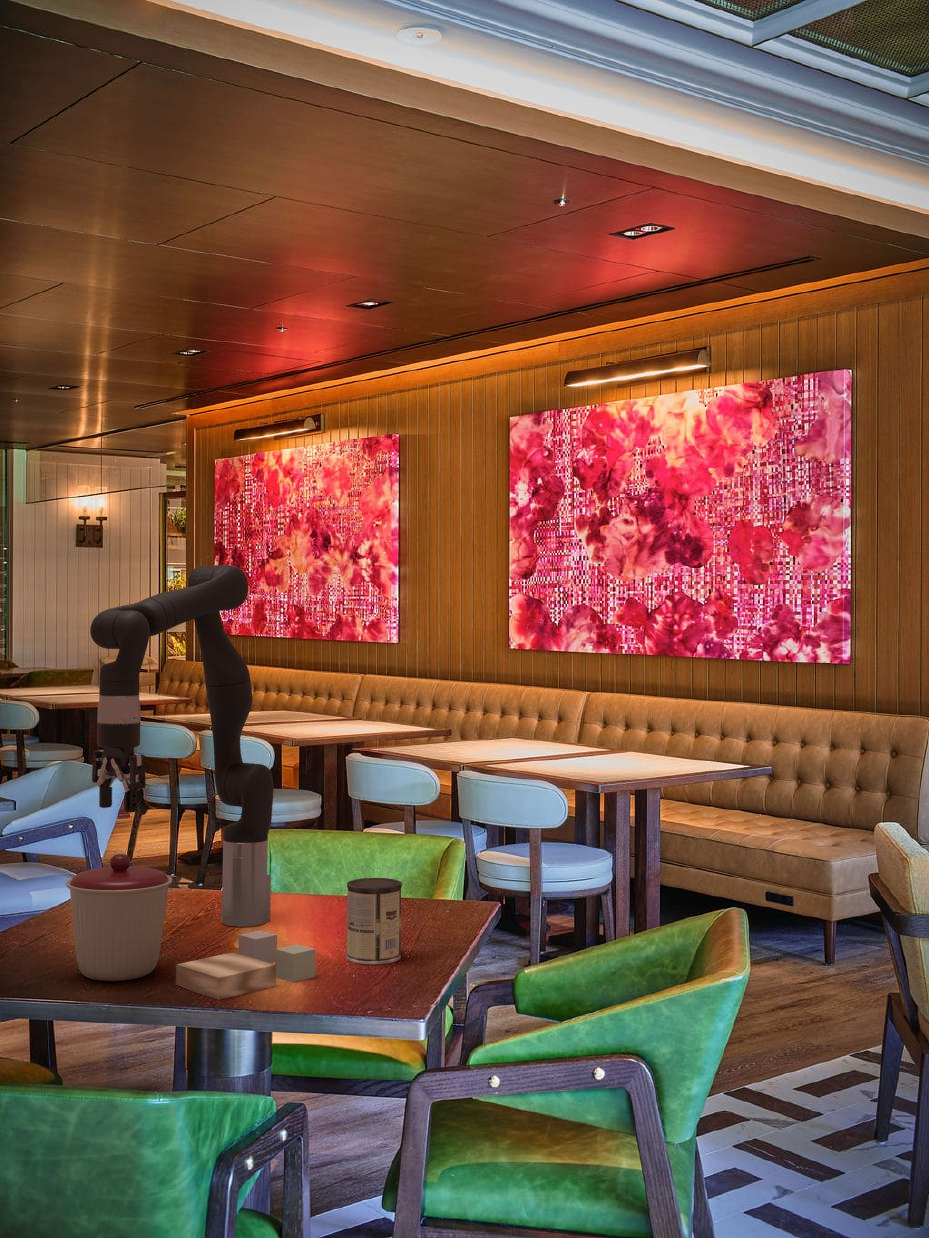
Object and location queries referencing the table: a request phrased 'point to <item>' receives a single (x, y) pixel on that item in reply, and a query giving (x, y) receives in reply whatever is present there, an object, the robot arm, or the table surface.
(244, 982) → the birch block
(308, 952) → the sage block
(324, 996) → the table surface
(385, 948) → the coffee can
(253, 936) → the grey block
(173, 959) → the table surface
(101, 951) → the canister
